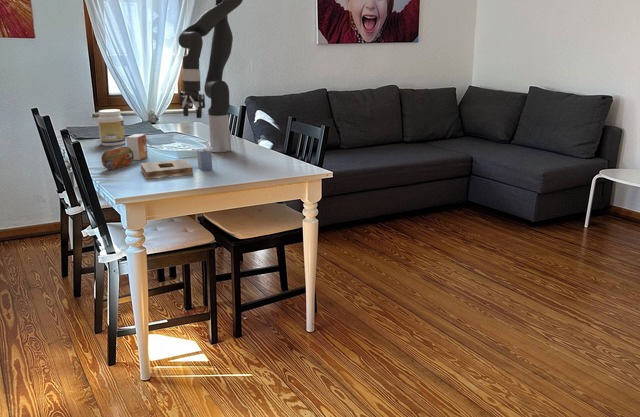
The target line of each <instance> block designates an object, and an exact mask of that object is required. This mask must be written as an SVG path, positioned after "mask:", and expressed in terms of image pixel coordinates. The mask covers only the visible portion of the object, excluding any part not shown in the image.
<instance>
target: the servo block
mask: <svg viewBox="0 0 640 417" xmlns="http://www.w3.org/2000/svg"><path fill="white" fill-rule="evenodd" d="M196 152H197V153H196V155H197V166H198V169H199V170H200V171H212V170H213V157H212V151H211V149H209V147H208V148H206V147H205V148H197V149H196Z"/></svg>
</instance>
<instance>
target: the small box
mask: <svg viewBox="0 0 640 417" xmlns="http://www.w3.org/2000/svg"><path fill="white" fill-rule="evenodd" d="M125 140H126V141H125V142H126V147H129V148H130V149H131V150H132V152H133V156H134V157H133V161H141V160H143V159H145V158H148V147H147V145H148V144H147V135H146V133H145V134H144V133H133V134H132V135H129V136H125Z"/></svg>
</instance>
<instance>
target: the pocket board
mask: <svg viewBox="0 0 640 417" xmlns="http://www.w3.org/2000/svg"><path fill="white" fill-rule="evenodd" d="M140 170H141V172H142V174H143V173H144V174H143V175H144V177H145V176H146V177H145V178H147V179H146V180H151V179H150V178H157V179H160V178H159V177H166V178H170V177H169V176H175V177H182V176H181V175H185V176H192V175H193V174H194V172H193V167H192V165H191V164H190V163H188V162H187V161H186V159H184V158H183V159H182V158H181V159H174V160H163V161H151V162H141V163H140Z"/></svg>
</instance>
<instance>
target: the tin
mask: <svg viewBox="0 0 640 417" xmlns="http://www.w3.org/2000/svg"><path fill="white" fill-rule="evenodd" d="M133 157H134V156H133V152H132V150H131V149H130V148H129V147H127V146H119V147H115V148H112V149H106V150H105V151H104V152H103V153H102V155H101V163H102V166H103V168H104V169H107V170H111V171H114V169H115V170H118V169H121V168H122V169H123V168H126V167H130V165H131V164H132V163H133V161H134V160H133Z"/></svg>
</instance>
